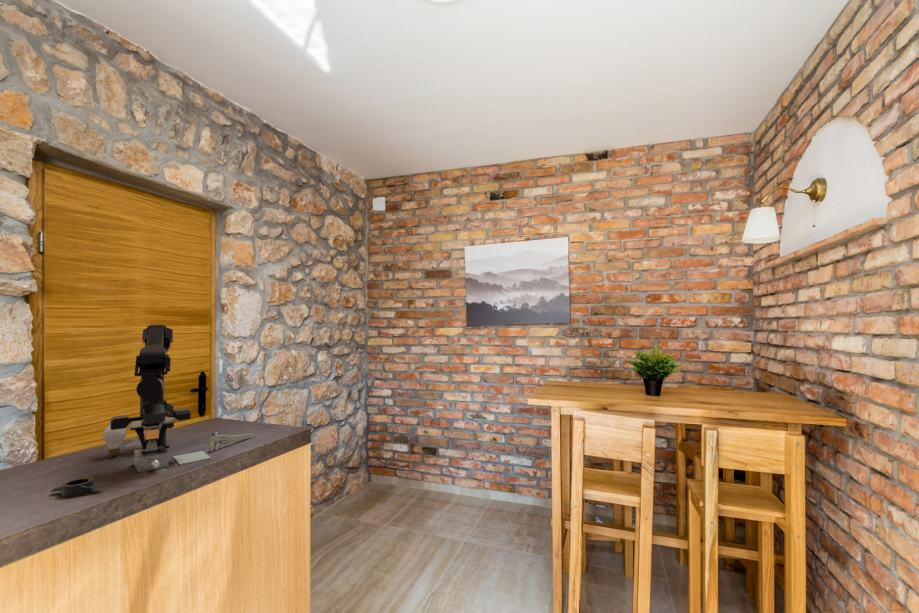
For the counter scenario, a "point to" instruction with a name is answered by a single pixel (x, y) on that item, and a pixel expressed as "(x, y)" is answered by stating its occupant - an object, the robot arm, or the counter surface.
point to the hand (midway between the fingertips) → (151, 448)
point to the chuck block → (151, 459)
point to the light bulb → (114, 439)
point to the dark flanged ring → (76, 487)
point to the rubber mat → (191, 457)
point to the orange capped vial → (151, 440)
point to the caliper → (224, 440)
